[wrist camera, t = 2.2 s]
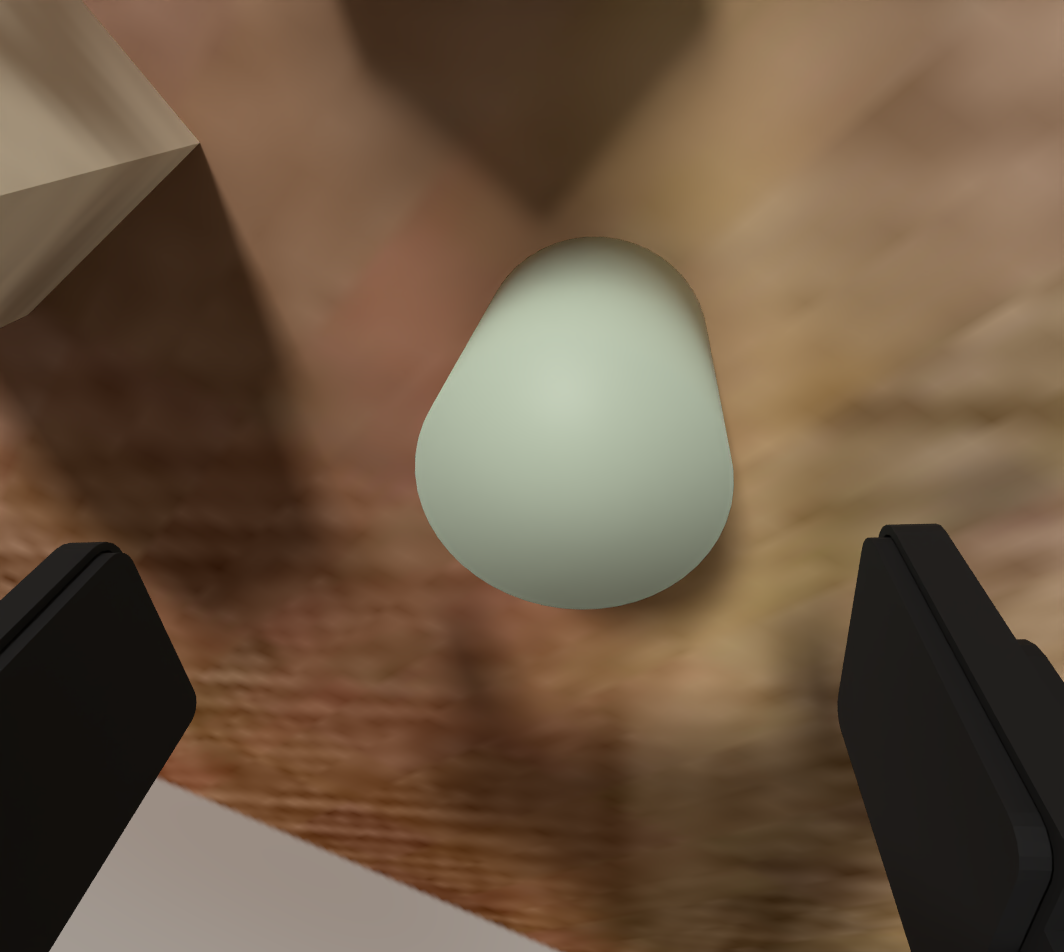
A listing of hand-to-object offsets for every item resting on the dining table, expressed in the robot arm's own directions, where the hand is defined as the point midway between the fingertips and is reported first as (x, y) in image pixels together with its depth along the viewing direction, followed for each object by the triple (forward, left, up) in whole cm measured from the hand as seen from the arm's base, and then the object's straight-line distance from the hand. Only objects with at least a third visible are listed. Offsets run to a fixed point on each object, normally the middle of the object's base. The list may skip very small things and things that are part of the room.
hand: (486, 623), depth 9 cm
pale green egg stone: (0, -1, -9) cm, 9 cm away
